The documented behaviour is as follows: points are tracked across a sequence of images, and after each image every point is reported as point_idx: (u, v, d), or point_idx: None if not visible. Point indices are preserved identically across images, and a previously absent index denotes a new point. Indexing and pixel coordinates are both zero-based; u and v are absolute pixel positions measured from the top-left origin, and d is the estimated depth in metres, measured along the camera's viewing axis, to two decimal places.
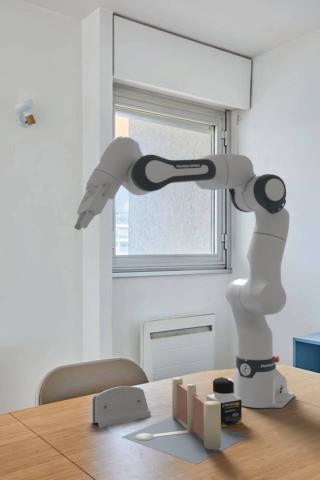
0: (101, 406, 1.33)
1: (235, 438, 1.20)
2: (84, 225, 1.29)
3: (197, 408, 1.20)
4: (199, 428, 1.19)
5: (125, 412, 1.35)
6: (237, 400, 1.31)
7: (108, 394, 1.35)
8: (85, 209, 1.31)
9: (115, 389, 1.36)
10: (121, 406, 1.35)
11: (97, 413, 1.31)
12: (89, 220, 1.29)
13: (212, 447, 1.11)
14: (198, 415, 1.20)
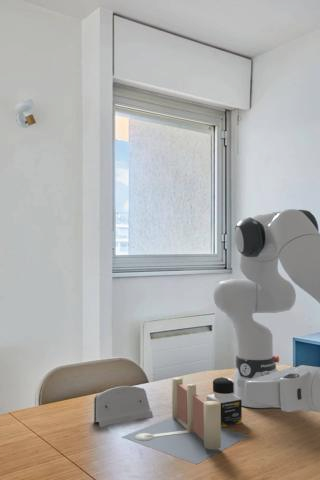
0: (102, 405, 1.33)
1: (235, 438, 1.20)
2: None
3: (197, 408, 1.20)
4: (199, 428, 1.19)
5: (126, 412, 1.35)
6: (237, 400, 1.31)
7: (109, 394, 1.35)
8: None
9: (117, 389, 1.36)
10: (122, 406, 1.35)
11: (98, 412, 1.32)
12: None
13: (212, 447, 1.11)
14: (198, 415, 1.20)
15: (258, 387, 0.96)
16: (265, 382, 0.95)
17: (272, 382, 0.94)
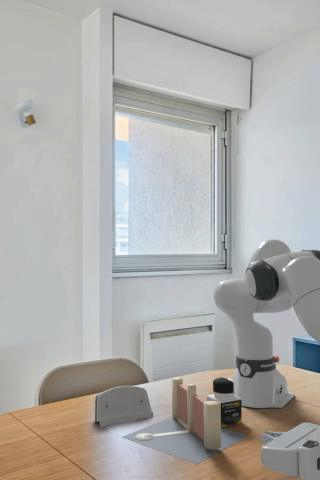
0: (103, 405, 1.34)
1: (235, 438, 1.20)
2: None
3: (197, 408, 1.20)
4: (199, 428, 1.19)
5: (127, 411, 1.35)
6: (237, 400, 1.31)
7: (110, 393, 1.35)
8: None
9: (117, 388, 1.37)
10: (123, 406, 1.36)
11: (99, 412, 1.32)
12: None
13: (212, 447, 1.11)
14: (198, 415, 1.20)
15: (275, 454, 0.91)
16: (283, 450, 0.91)
17: (291, 451, 0.90)
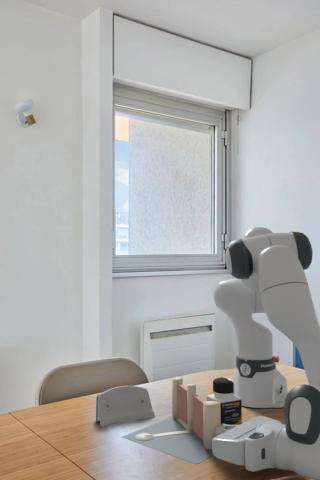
0: (104, 404, 1.34)
1: None
2: None
3: (197, 408, 1.20)
4: (199, 428, 1.19)
5: (128, 411, 1.36)
6: (237, 400, 1.31)
7: (111, 393, 1.36)
8: None
9: (119, 388, 1.37)
10: (124, 405, 1.36)
11: (99, 412, 1.33)
12: None
13: (211, 447, 1.11)
14: (198, 415, 1.20)
15: (224, 445, 0.99)
16: (231, 441, 0.99)
17: (238, 442, 0.98)
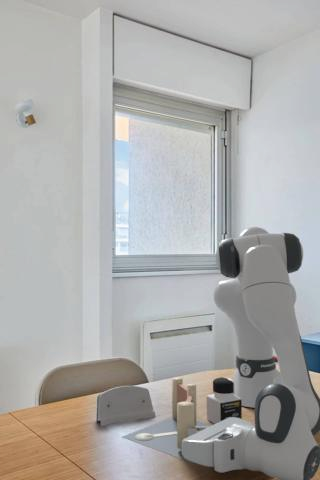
0: (105, 404, 1.34)
1: None
2: None
3: None
4: None
5: (129, 411, 1.36)
6: (237, 400, 1.31)
7: (112, 393, 1.36)
8: None
9: (119, 388, 1.37)
10: (125, 405, 1.36)
11: (100, 411, 1.33)
12: None
13: (181, 447, 1.11)
14: None
15: (193, 447, 0.98)
16: (200, 442, 0.98)
17: (207, 443, 0.97)
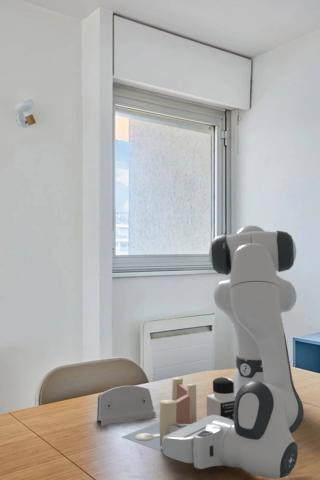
0: (105, 404, 1.34)
1: None
2: None
3: None
4: None
5: (129, 411, 1.36)
6: None
7: (112, 393, 1.36)
8: None
9: (120, 388, 1.37)
10: (125, 405, 1.36)
11: (100, 411, 1.33)
12: None
13: (161, 444, 1.13)
14: None
15: (173, 444, 1.00)
16: (180, 439, 0.99)
17: (186, 440, 0.99)
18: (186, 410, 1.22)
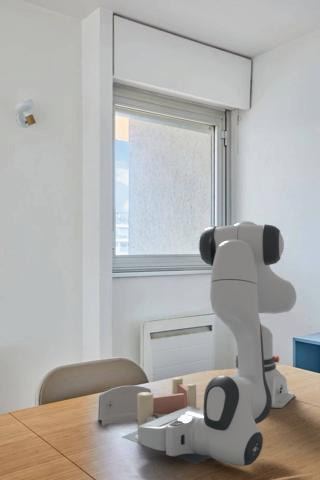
0: (106, 404, 1.34)
1: None
2: None
3: None
4: None
5: (130, 411, 1.36)
6: None
7: (114, 392, 1.36)
8: None
9: (121, 388, 1.37)
10: (126, 405, 1.36)
11: (101, 411, 1.33)
12: None
13: None
14: None
15: (147, 432, 1.06)
16: (153, 428, 1.06)
17: (159, 429, 1.05)
18: (178, 407, 1.23)
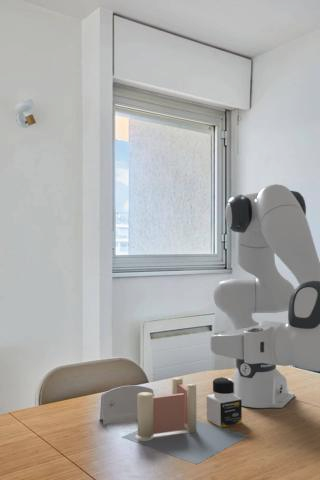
0: (108, 403, 1.35)
1: (235, 438, 1.20)
2: None
3: None
4: None
5: (132, 411, 1.36)
6: (237, 400, 1.31)
7: (115, 392, 1.36)
8: None
9: (123, 388, 1.38)
10: (128, 405, 1.36)
11: (103, 410, 1.34)
12: None
13: None
14: None
15: (222, 340, 0.98)
16: (230, 336, 0.97)
17: (236, 335, 0.97)
18: (178, 407, 1.23)
